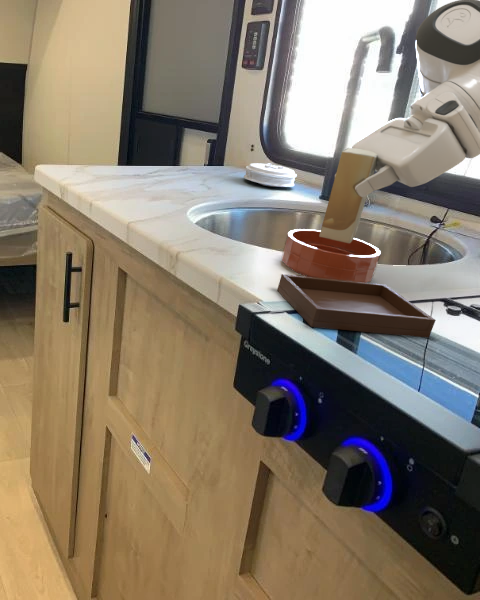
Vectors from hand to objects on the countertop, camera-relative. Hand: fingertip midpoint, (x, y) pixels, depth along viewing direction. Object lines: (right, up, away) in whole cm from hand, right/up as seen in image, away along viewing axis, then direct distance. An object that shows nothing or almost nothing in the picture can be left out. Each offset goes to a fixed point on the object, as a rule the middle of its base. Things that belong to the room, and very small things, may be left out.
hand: (346, 186), depth 84 cm
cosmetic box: (0, -7, +3) cm, 7 cm away
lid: (+11, +14, +70) cm, 72 cm away
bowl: (-1, -12, +5) cm, 13 cm away
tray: (-4, -17, -10) cm, 21 cm away
